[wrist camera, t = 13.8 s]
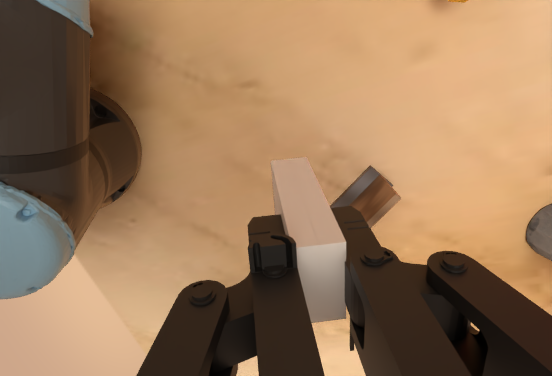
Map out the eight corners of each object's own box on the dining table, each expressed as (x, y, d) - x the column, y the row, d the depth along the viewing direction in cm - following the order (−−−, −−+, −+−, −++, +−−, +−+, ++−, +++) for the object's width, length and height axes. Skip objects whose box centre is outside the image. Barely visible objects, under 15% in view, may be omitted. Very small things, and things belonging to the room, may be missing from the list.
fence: (370, 165, 56) (394, 195, 48) (391, 184, 57) (418, 215, 49) (197, 341, 66) (192, 390, 58) (219, 353, 67) (218, 402, 59)
